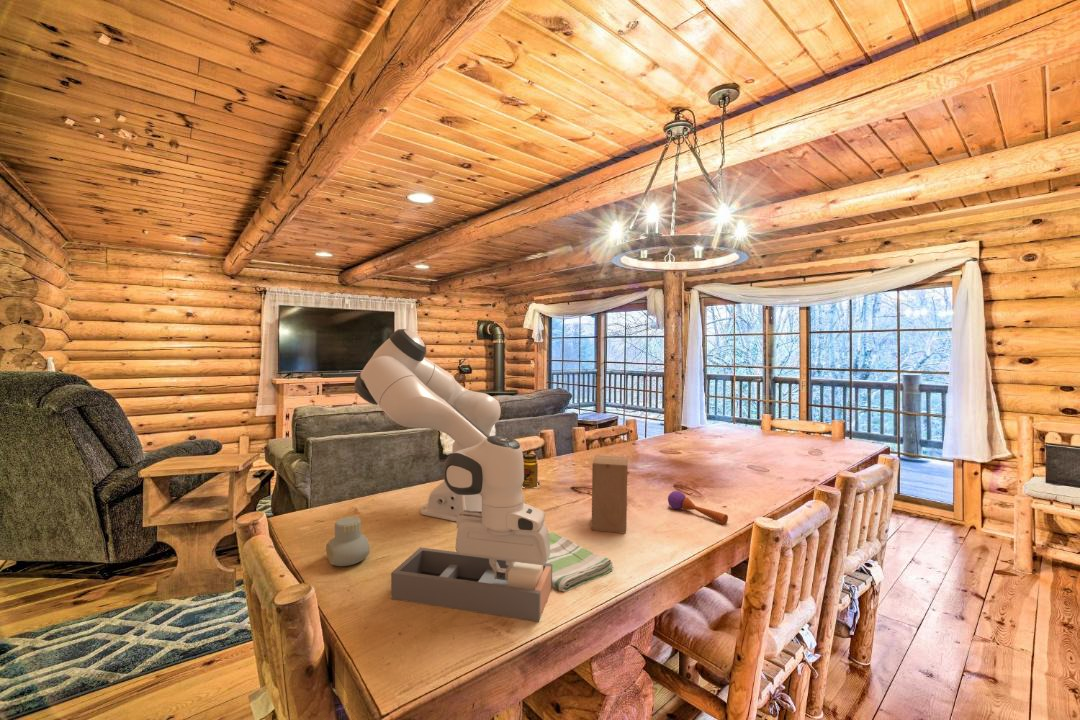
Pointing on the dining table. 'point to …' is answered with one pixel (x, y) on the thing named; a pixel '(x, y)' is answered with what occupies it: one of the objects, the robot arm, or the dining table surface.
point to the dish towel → (574, 564)
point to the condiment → (530, 471)
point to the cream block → (524, 575)
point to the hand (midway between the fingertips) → (502, 578)
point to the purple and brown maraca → (693, 507)
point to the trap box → (467, 585)
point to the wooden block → (609, 494)
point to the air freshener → (347, 543)
